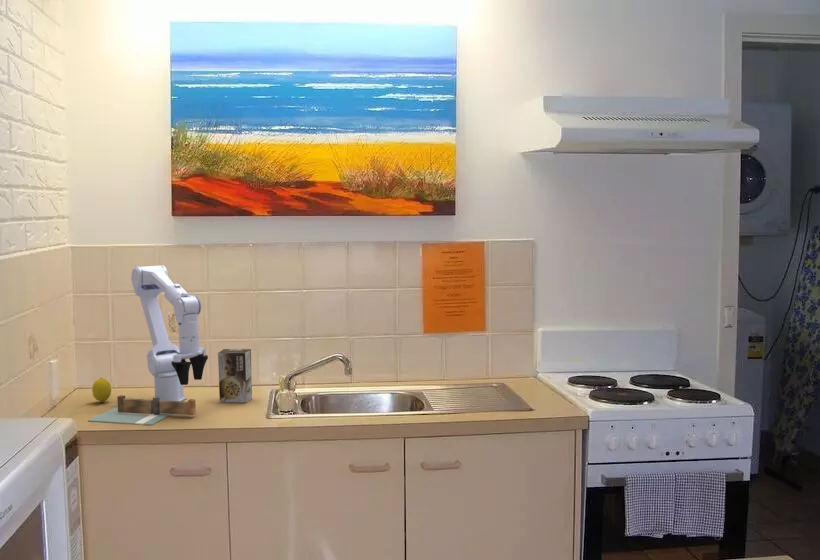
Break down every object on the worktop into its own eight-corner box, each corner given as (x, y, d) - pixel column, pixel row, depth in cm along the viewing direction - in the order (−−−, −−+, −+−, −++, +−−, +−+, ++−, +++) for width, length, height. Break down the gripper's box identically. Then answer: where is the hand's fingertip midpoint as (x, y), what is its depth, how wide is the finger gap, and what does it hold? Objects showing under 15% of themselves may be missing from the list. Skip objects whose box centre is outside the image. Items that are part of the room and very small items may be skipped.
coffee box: (252, 398, 259) (251, 348, 257) (246, 403, 252) (245, 352, 251) (225, 397, 260) (224, 348, 258) (218, 402, 253) (217, 352, 252)
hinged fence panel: (159, 413, 237) (158, 398, 237) (161, 412, 239) (161, 397, 239) (193, 415, 235) (192, 400, 235) (195, 413, 237) (195, 399, 236)
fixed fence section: (117, 413, 240) (116, 396, 239) (121, 412, 242) (120, 395, 241) (158, 416, 237) (157, 398, 237) (161, 414, 239) (160, 397, 239)
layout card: (125, 403, 251) (125, 402, 251) (184, 407, 248) (184, 405, 248) (88, 421, 232) (88, 420, 232) (152, 425, 228) (151, 423, 228)
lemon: (114, 400, 256) (113, 375, 255) (108, 404, 250) (107, 379, 249) (96, 400, 256) (95, 375, 255) (90, 404, 250) (89, 379, 249)
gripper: (187, 340, 232) (189, 387, 232) (213, 333, 245) (215, 377, 246) (166, 340, 234) (168, 386, 234) (192, 333, 247) (195, 377, 248)
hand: (191, 382), depth 241 cm, fingers open, 7 cm apart
